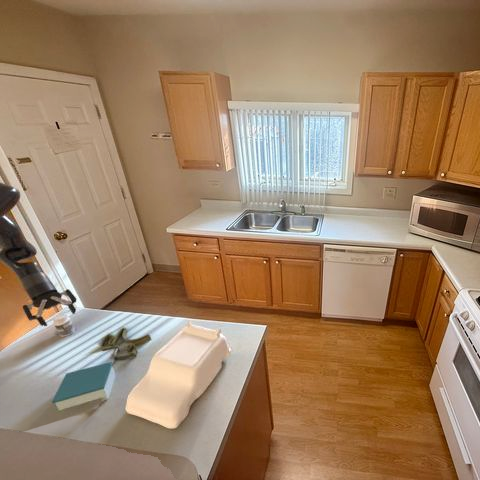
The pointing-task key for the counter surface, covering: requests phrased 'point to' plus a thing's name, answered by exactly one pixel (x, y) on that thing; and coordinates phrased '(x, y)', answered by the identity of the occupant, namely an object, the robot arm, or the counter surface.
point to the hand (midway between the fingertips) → (60, 319)
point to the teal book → (85, 386)
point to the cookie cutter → (129, 348)
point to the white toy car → (178, 375)
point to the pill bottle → (63, 324)
